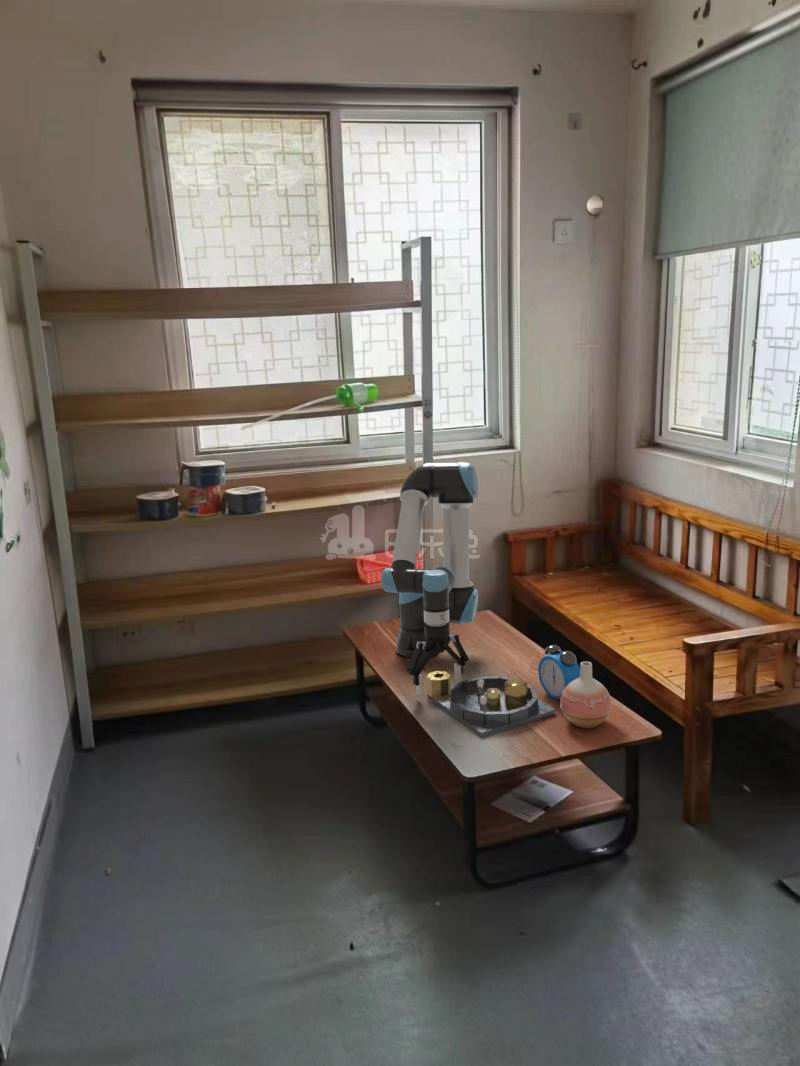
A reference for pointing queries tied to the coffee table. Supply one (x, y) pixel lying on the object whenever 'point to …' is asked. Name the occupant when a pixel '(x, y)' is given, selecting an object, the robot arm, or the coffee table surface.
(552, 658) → the alarm clock
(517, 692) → the carrier
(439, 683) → the octagonal brass tube
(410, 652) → the robot arm
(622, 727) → the coffee table surface
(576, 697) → the vase
